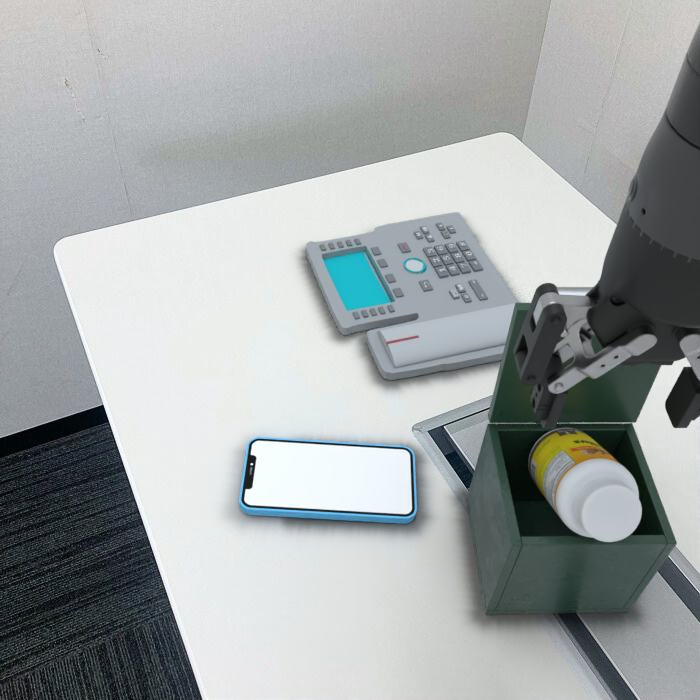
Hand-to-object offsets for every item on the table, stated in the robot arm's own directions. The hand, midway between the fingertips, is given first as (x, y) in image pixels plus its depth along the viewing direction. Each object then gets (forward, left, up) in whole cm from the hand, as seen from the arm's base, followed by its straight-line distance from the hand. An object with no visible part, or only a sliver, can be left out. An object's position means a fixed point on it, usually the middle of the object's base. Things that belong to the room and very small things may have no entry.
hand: (610, 417), depth 49 cm
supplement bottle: (+2, -3, -10) cm, 11 cm away
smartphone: (+19, +4, -19) cm, 27 cm away
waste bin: (0, 0, -18) cm, 19 cm away
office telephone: (+25, -21, -19) cm, 38 cm away
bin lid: (+3, -5, -2) cm, 6 cm away
